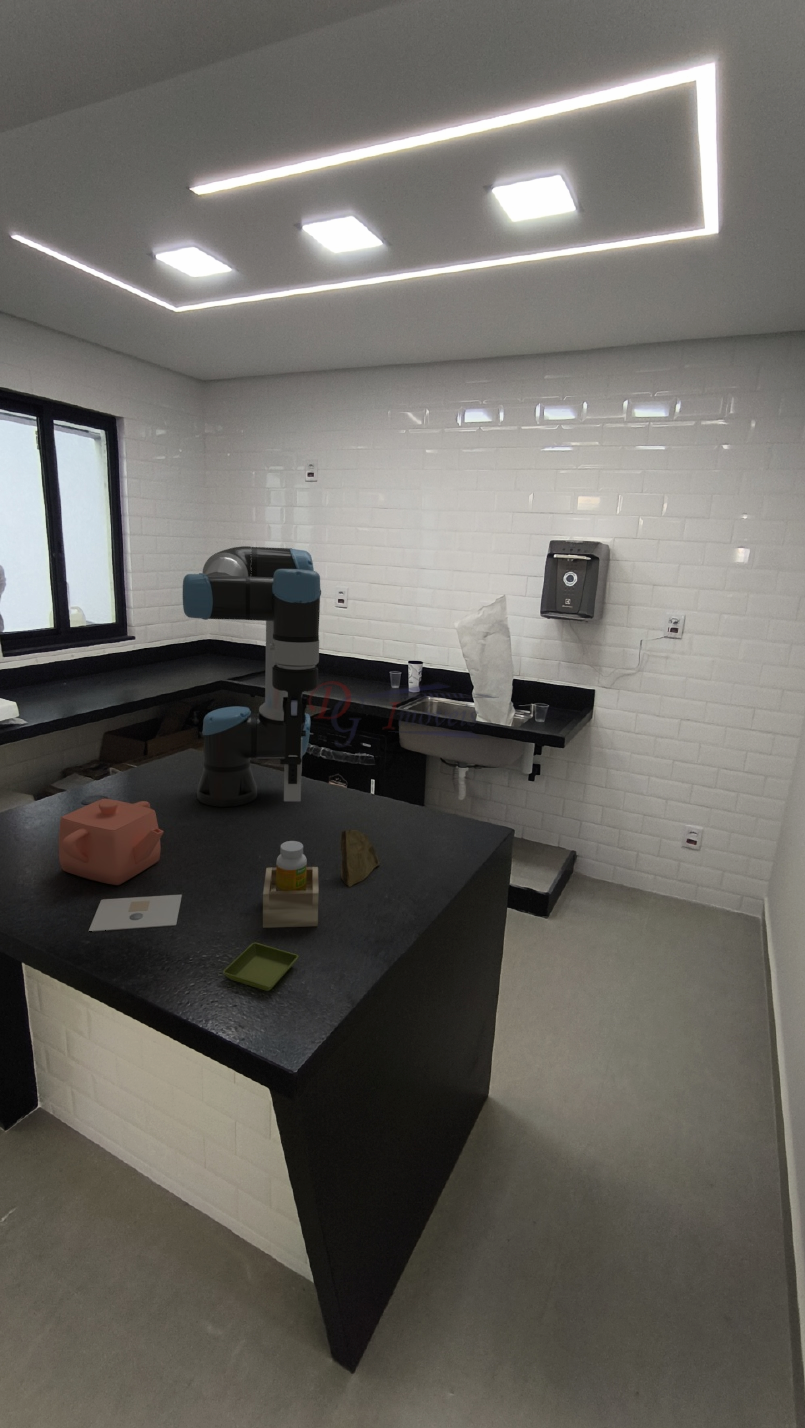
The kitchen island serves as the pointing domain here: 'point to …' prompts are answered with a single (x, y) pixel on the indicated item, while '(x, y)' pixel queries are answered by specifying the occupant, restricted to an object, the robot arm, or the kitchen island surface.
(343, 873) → the rock
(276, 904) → the wooden crate
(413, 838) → the kitchen island surface
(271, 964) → the green tray
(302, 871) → the supplement bottle
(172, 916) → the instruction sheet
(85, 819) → the teapot
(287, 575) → the robot arm
